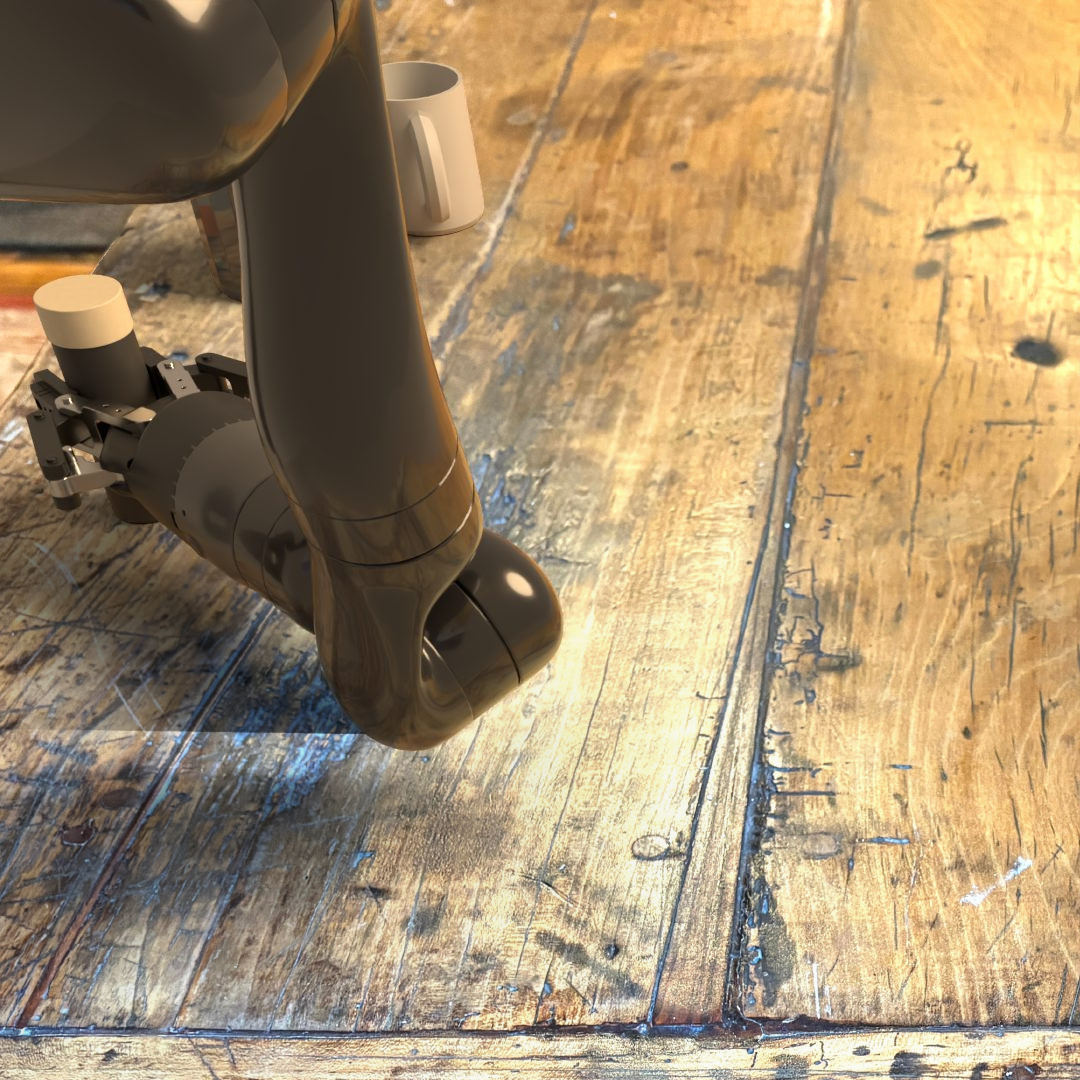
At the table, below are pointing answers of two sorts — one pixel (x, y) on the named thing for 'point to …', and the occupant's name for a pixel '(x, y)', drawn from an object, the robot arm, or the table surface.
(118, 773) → the table surface
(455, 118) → the cup
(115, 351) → the glue stick
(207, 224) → the pencil cup
